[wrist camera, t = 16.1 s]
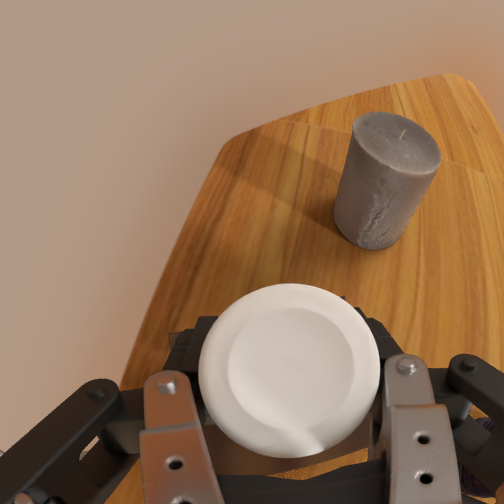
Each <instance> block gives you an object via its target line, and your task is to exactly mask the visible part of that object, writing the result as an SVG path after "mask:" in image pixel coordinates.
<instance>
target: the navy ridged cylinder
mask: <svg viewBox="0 0 504 504" xmlns="http://www.w3.org/2000/svg"><path fill="white" fill-rule="evenodd" d="M475 420H476V421H477V422H478V423H479V424H480V425H482V426H483V427H484V428H485V429H487V430H488V431H489V432H490V433H491V434H492V433H493V431H494V423H493V420H492V419H491V418H490V417H487V418H478V419H475ZM457 465H458V472H459V480H460V489H461V492H463V493H465V494H467V495H471V496H475V497H482V498H490V497H494V498H496V496H495V495H494V494H493V493H492V492H491V491H490V490H489V489H488V488H487V487H486V486H484V485H483V484H482V483H481V482H480V481H479V480H478V479H477V478H476V477H475V476H474V475H473V474H472V473H471V472H470V471H469V470H468V469H467V468H466V467H465V466H464V465H463V464H462V463H461V462H460V461H459V460H457Z"/></svg>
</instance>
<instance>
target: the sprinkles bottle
mask: <svg viewBox="0 0 504 504" xmlns="http://www.w3.org/2000/svg"><path fill="white" fill-rule="evenodd" d="M198 377H199V386H200V391H201V395H202V398H203V401H204V403H205V406H206V408H207V410H208V412H209V414H210V416H211V417H212V419H213V420H214V422H215V423H216V424H217V426H218V427H219V428H220V429H221V430H222V431H223V432H224V433H225V434H226V435H227V436H228V437H229V438H230V439H232V440H233V441H234V442H236V443H237V444H239V445H241V446H243V447H245V448H246V449H248V450H251V451H253V452H256V453H258V454H262V455H266V456H271V457H277V458H297V457H304V456H309V455H313V454H317V453H320V452H322V451H324V450H327V449H329V448H331V447H333V446H335V445H336V444H338V443H340V442H341V441H343V440H344V439H345V438H346V437H348V436H349V435H350V434H351V433H352V432H353V431H354V430H355V429H356V428H357V427H358V426H359V425H360V424H361V423H362V421H363V420H364V418H365V417H366V415H367V414H368V412H369V410H370V408H371V406H372V404H373V402H374V399H375V396H376V393H377V390H378V385H379V379H380V360H379V353H378V348H377V345H376V342H375V339H374V337H373V335H372V332H371V330H370V328H369V327H368V325H367V324H366V322H365V321H364V319H363V318H362V317H361V315H360V314H359V313H358V312H357V311H356V310H355V309H354V308H353V307H352V306H351V305H350V304H348V303H347V302H346V301H344V300H343V299H341V298H340V297H338V296H336V295H335V294H333V293H330V292H328V291H326V290H323V289H320V288H317V287H314V286H309V285H303V284H277V285H273V286H268V287H264V288H261V289H258V290H256V291H254V292H251V293H249V294H247V295H245V296H243V297H242V298H240V299H239V300H237V301H236V302H234V303H233V304H232V305H231V306H229V307H228V308H227V309H226V310H225V311H224V312H223V313H222V314H221V315H220V316H219V317H218V319H217V320H216V321H215V322H214V324H213V326H212V327H211V329H210V331H209V333H208V334H207V336H206V339H205V341H204V343H203V347H202V350H201V355H200V359H199V371H198Z"/></svg>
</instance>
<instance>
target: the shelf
mask: <svg viewBox="0 0 504 504" xmlns="http://www.w3.org/2000/svg"><path fill="white" fill-rule="evenodd" d="M340 298H341V299H343V300H344V301H346V299H345V296H342V297H340ZM182 332H183V331H182ZM182 332H176V333H170V334H169V343H170V351H171V352H172V348H173V345H174V343H175V341H176V339H177V336H178V335H179V334H181V333H182ZM371 420H372V414H371V412H369V413H368V414H367V415H366V417H365V418H364V420H363V421H362V423H361V424H360V425H359V426H358V427H357V428H356V429H355V430H354V431H353V432H352V433H351V434H350V435H349V436H348V437H346V438H345V439H344V440H343V441H341V442H340V443H338V444H336V445H335V446H333V447H331V448H329V449H327V450H324V451H322V452H320V453H317V454H313V455H309V456H304V457H297V458H277V457H271V456H266V455H262V454H258V453H256V452H253V451H251V450H248V449H246V448H245V447H243V446H241V445H239V444H237V443H236V442H234V441H233V440H232V439H230V438H229V437H228V436H227V435H226V434H225V433H224V432H223V431H222V430H221V429H220V428H219V427H218V426H217V424H216V423H215V422H214V425H205V426H204V432H203V435H204V439H205V442H206V446H207V449H208V453H209V456H210V459H211V462H212V466H213V469H214V472H215V475H216V478H217V475H263V476H267V475H272V474H277V473H282V472H286V471H291V470H295V469H299V468H303V467H307V466H311V465H314V464H318V463H321V462H325V461H328V460H331V459H335V458H338V457H341V456H344V455H347V454H350V453H353V452H355V451H358V450H361V449H364V448H366V447H369V434H370V423H371Z"/></svg>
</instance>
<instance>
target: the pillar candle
mask: <svg viewBox="0 0 504 504" xmlns="http://www.w3.org/2000/svg"><path fill="white" fill-rule="evenodd" d="M352 127H353V131H352V136H351V140H350V145H349V149H348V153H347V157H346V161H345V165H344V169H343V173H342V177H341V181H340V185H339V189H338V193H337V197H336V201H335V204H334V210H333V218H334V222H335V224H336V225H337V227H338V229H339V230H340V232H341V233H342V234H343V235H344V236H345V237H346V238H347V239H348V240H349V241H350V242H351V243H353V244H355V245H356V246H359V247H362V248H365V249H370V250H379V249H384V248H387V247H389V246H391V245H392V244H394V243H395V242H396V241H397V240H398V239H399V237H400V236H401V234H402V232H403V231H404V229H405V227H406V226H407V224H408V222H409V221H410V219H411V217H412V216H413V214H414V213H415V211H416V209H417V207H418V205H419V203H420V202H421V200H422V198H423V196H424V194H425V193H426V191H427V189H428V187H429V185H430V183H431V181H432V179H433V177H434V176H435V173H436V172H437V170H438V168H439V165H440V162H441V151H440V149H439V147H438V145H437V143H436V141H435V140H434V139H433V138H432V136H431V135H430V134H429V133H428V132H427V131H425V130H424V129H423V128H422V127H421V126H420V125H418V124H416V123H415V122H413V121H412V120H409V119H407V118H405V117H403V116H400V115H397V114H393V113H388V112H371V113H367V114H364V115H362V116H360V117H359V118H358V119H355V120H354V123H353V125H352Z"/></svg>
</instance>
